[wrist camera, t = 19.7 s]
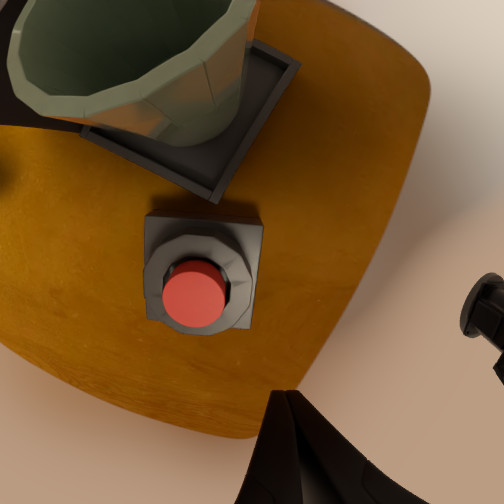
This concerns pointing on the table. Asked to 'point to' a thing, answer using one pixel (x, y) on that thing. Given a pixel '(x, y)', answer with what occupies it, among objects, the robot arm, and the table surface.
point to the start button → (195, 293)
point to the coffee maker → (159, 155)
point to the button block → (206, 249)
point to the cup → (135, 64)
